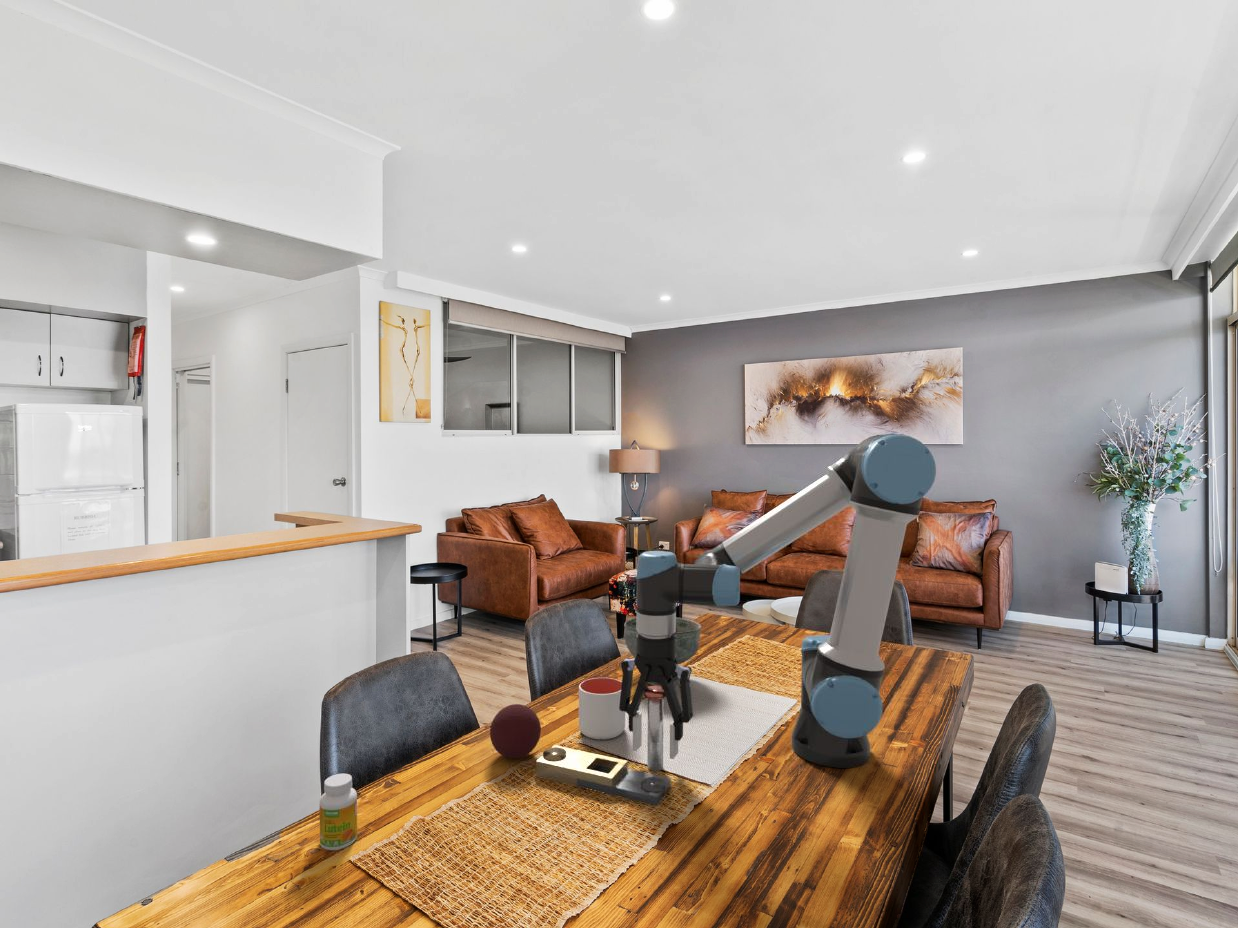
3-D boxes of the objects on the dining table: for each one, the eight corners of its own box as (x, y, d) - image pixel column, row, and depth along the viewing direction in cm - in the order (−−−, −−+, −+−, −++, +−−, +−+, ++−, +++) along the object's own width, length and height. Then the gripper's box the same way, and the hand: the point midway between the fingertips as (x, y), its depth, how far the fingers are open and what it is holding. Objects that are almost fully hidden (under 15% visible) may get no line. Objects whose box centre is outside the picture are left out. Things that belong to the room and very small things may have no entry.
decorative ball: (521, 739, 138) (521, 692, 137) (551, 755, 131) (551, 706, 130) (480, 755, 131) (480, 705, 130) (509, 773, 124) (509, 721, 123)
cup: (620, 743, 136) (620, 696, 136) (573, 739, 138) (573, 692, 138) (629, 723, 146) (629, 679, 145) (585, 719, 148) (585, 675, 147)
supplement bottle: (319, 854, 99) (318, 791, 99) (320, 835, 104) (319, 774, 104) (357, 846, 101) (357, 784, 101) (356, 827, 106) (356, 768, 106)
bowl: (711, 674, 176) (712, 619, 176) (678, 698, 160) (678, 637, 160) (647, 661, 187) (648, 609, 186) (610, 682, 171) (610, 625, 170)
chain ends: (671, 786, 119) (671, 768, 119) (658, 805, 113) (658, 786, 113) (553, 759, 129) (553, 742, 129) (535, 776, 123) (535, 758, 122)
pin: (669, 764, 127) (670, 687, 127) (662, 774, 123) (662, 695, 123) (648, 759, 129) (649, 684, 129) (640, 769, 125) (640, 692, 125)
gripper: (711, 634, 125) (710, 753, 126) (616, 622, 133) (616, 734, 134) (700, 645, 118) (699, 771, 119) (600, 632, 126) (600, 750, 127)
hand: (655, 751), depth 126 cm, fingers open, 7 cm apart
